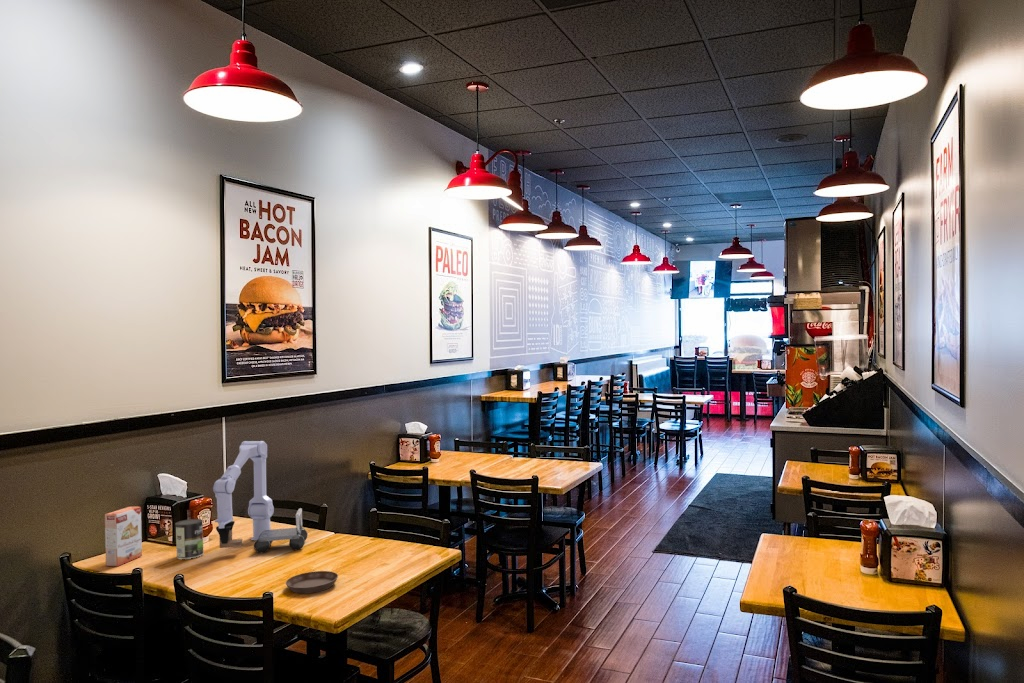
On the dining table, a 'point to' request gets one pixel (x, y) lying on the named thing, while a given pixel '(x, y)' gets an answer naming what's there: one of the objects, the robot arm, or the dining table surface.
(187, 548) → the coffee can
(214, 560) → the dining table surface
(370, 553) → the dining table surface
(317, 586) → the plant saucer
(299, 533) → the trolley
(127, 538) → the cracker box
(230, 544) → the brown l-shaped block
